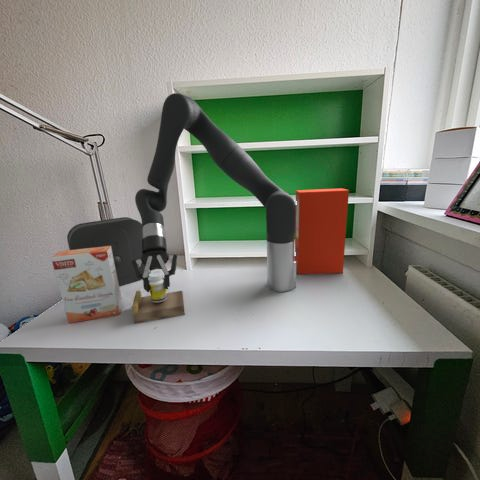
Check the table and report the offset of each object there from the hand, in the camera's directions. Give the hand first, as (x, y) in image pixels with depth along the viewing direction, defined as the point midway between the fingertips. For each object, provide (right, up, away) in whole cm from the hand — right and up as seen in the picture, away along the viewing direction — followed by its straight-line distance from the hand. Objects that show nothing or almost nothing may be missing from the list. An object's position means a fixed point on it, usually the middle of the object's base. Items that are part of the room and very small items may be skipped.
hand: (157, 289), depth 73 cm
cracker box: (-19, -9, +3) cm, 22 cm away
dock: (0, -7, +4) cm, 8 cm away
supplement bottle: (0, -4, +3) cm, 5 cm away
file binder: (+56, +2, +28) cm, 63 cm away
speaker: (-23, -3, +24) cm, 34 cm away
